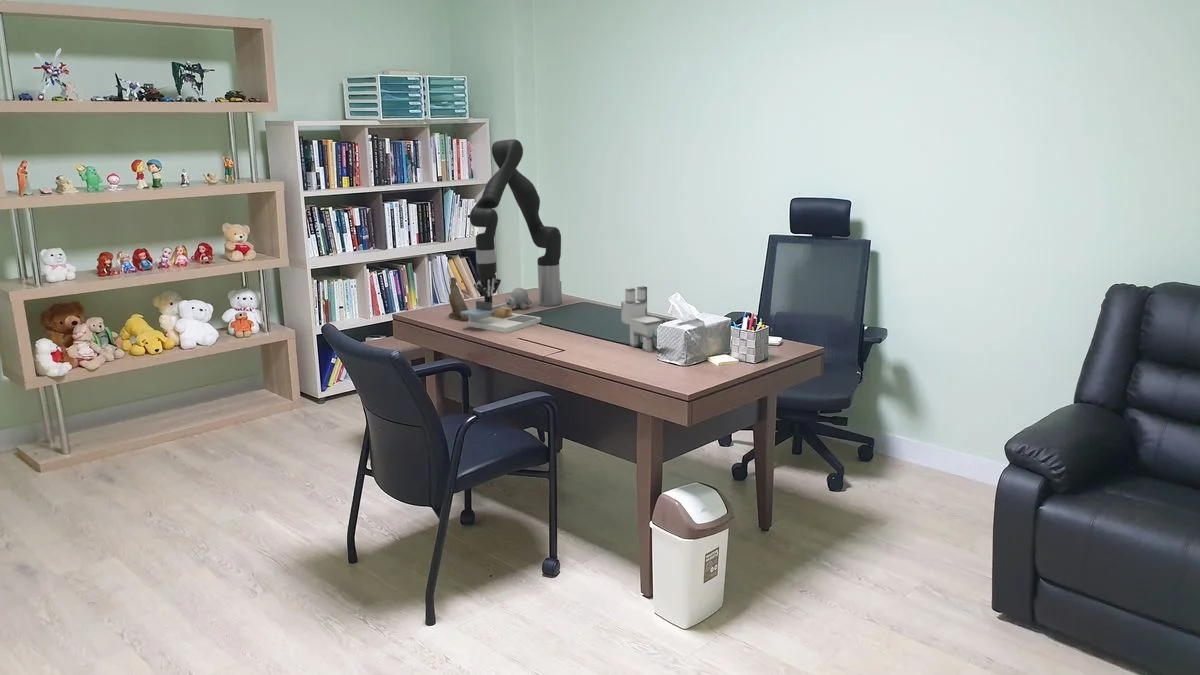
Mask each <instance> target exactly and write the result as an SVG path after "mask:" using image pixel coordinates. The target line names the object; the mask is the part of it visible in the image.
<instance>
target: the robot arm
mask: <svg viewBox="0 0 1200 675" xmlns="http://www.w3.org/2000/svg"><path fill="white" fill-rule="evenodd" d="M491 154H492V157H493V160H494V162H495V164H496V165H497V168H498V170H497V171H496V172H495V173H494V175H492V177H490V179H489V180H488V182H487V183H486V185H485V187H484V190H483V192H482V195H481V197H480V198H479V200H478V201H477V202H476V203H475V205H474V206H473V208H472V209H471V210H470V214H469V223H470V224H471V225H472V226H474V228H475V227H476V228H485V230H484V232H481V233H478V234H476V236H475V248H476V251H475V261H476V262H475V264H476V273H477V275H478V278H477V283H474V285H473V287H474V289H475V290H476V291H477V292H478V294H479V295H480V296H483V297H484V301H486V302H492V303H493V295H494V294H496V293H497V291H498V288H499V286H500V284H501V281H502V279H500V278H497V272H498V271H497V270H498V268H497V254H496V245H495V237H496V232H497V227H498V222H499V221H498V220H499V217H498V215H499V214H498V213H497V211H496V210H495V209H496V208H497V207H499V204H500V202H501V200H502V196H503V194H504V191H505V189H506V187H507V185H508V186H509V189H510V191H511V192H512V195H513V197H514V199H515V202H516V204H517V206H518V207H519V209H520V211H521V214H522V216H523V218H524V221H525V224H526V225H527V228H528V231H529V235H530V236H531V237H530V238H531V240H532V242H533V244H534V245H535V246H536V247H537V248H541V249H545V252H544V254H543V255H542V256H539V257H538V258H537V283H538V284H537V285H538V286H537V288H538V305H539V306H542V307H555V306H559V305H561V304H562V303H563V298H562V297H563V296H562V281H561V276H560V275H561V272H560V269H561V268H560V259H561V255H562V236H561V235H562V234H561V232H560V229H559V228H558V227H556V226H547V225H544V223H543V222H542V220H541V217H540V215H539V213H540V207H541V200H540V196H539V194H538V191H537V188H536V187H535V185H534V183H533V182H531V180H529V178H527V177H526V176H525V175H523V174H522V173H521V172H520V171H519V170H518V169H517V167H519V164H520V162H521V161H522V158H523V155H524V148H523V144H522V143H521V142H520V141H519V139H503V140H496V141H494V142H493V143H492V146H491Z"/></svg>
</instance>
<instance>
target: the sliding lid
mask: <svg viewBox="0 0 1200 675" xmlns="http://www.w3.org/2000/svg"><path fill="white" fill-rule="evenodd" d="M492 306H493V301H492V302H486V301H485V300H476V301H475V307H474V308H471V309H468V310H466V311H462V312H460V313H461V314H463V315H469V316H475V317H479V316H483V315H487V314H490V313H494V310H492Z"/></svg>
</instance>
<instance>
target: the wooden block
mask: <svg viewBox="0 0 1200 675" xmlns="http://www.w3.org/2000/svg"><path fill="white" fill-rule="evenodd" d="M512 313H513V307H512V308H505V307H501V308H497V309H494V317H496V318H502V319H505V318H508V317H512Z"/></svg>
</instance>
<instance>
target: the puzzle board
mask: <svg viewBox="0 0 1200 675" xmlns="http://www.w3.org/2000/svg"><path fill="white" fill-rule="evenodd" d="M501 307H505V308H506V302H503V303H500V304H495V305H492V310H494V309H497V308H501ZM468 317H469V321H467V327H469V328H476V329H480V330H481V329H483V330H486V331H487V330H488V331H492V332H499V333H503V334H504V333H505V334H509V333H511V332H514V331H518V330H521V328H522V329H525V328H527V327H531V325H532V326H534V325H538V324H540V323H539V322H541V323H542V317H540V316H533V315H526V314H520V313H516V312H512V317H508V318H505V319H502V318H496V317H494V313H490V314H487V315H483V316H479V317H475V316H469V315H468ZM537 323H538V324H537Z"/></svg>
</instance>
